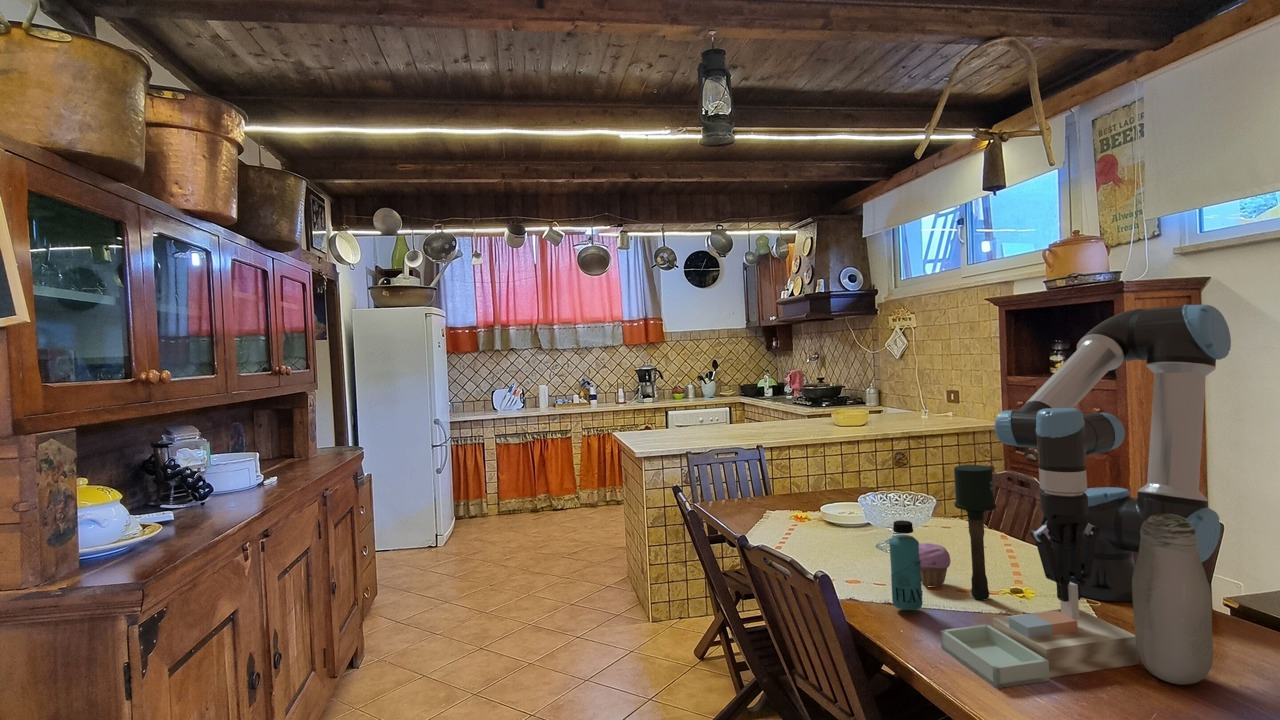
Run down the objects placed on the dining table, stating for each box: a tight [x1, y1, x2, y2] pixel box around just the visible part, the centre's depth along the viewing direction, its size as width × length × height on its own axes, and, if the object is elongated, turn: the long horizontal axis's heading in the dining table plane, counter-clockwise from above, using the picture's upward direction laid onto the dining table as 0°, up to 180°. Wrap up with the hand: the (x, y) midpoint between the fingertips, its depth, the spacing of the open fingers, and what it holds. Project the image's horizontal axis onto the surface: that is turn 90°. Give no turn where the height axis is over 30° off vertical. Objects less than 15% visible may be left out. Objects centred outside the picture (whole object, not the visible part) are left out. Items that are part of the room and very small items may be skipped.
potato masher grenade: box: [953, 464, 997, 600], centre depth 152 cm, size 8×9×30 cm
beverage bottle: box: [888, 520, 924, 611], centre depth 147 cm, size 6×7×20 cm
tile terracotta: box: [1033, 610, 1078, 635], centre depth 124 cm, size 5×5×2 cm
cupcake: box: [919, 542, 952, 587], centre depth 162 cm, size 9×9×10 cm
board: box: [992, 608, 1140, 678], centre depth 124 cm, size 18×14×5 cm
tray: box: [940, 623, 1051, 689], centre depth 122 cm, size 10×16×4 cm, turn 8°
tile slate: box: [1009, 613, 1053, 639], centre depth 123 cm, size 5×5×2 cm
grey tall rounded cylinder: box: [1132, 514, 1214, 686], centre depth 112 cm, size 10×10×28 cm
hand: (1070, 617), depth 124 cm, fingers closed
